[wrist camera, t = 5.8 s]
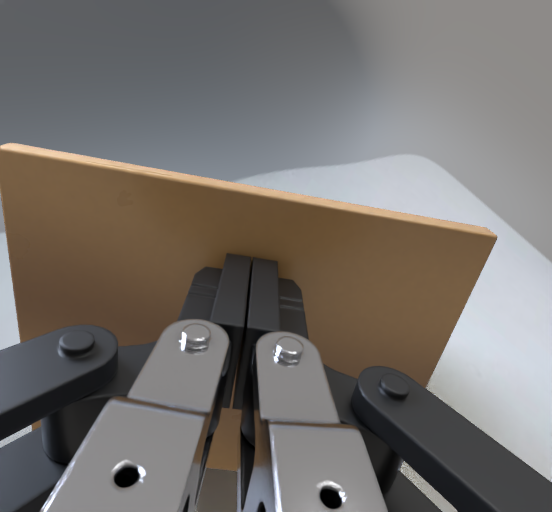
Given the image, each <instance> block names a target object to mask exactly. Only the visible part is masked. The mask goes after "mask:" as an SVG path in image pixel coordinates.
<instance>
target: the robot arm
mask: <svg viewBox="0 0 552 512" xmlns="http://www.w3.org/2000/svg"><path fill="white" fill-rule="evenodd" d="M250 264H251V257H249V256H243V255H236V254H230V253H227V254H226V258H225V262H224V266H223V269H220V268H213V267H207V266H206V267H204V268H203V269H201V270H200V271H198V272H197V273H195V275H194V278H193V281H192V283H191V286H190V288H189V291H188V294H187V296H186V299H185V301H184V304H183V307H182V309H181V312H180V314H179V317H178V320H177V322H174V323H172V324H171V325H169V326H168V327H166V328H165V329H164V331H163V332H162V334H161V336H160V338H159V339H158V340H157V341H154V342H151V343H147V344H141V345H130V346H118V340H117V338H116V336H115V335H114V334H113V333H112V332H111V331H109V330H108V329H105V328H103V327H100V326H95V325H73V326H68V327H64V328H61V329H57V330H55V331H52V332H49V333H47V334H44V335H41V336H38V337H36V338H33V339H30V340H27V341H25V342H22V343H19V344H17V345H14V346H11V347H8V348H6V349H3V350H0V441H1V440H3V439H5V438H6V437H8V436H10V435H12V434H14V433H16V432H18V431H20V430H22V429H24V428H26V427H27V426H29V425H31V424H33V423H35V422H37V421H39V420H41V427H39V428H37V429H35V430H33V431H31V432H30V433H28V434H26V435H24V436H22V437H20V438H18V439H16V440H15V441H13V442H11V443H9V444H7V445H5V446H3V447H2V448H0V512H196V508H197V504H198V500H199V496H200V492H201V488H202V483H203V479H204V475H205V471H206V467H207V463H208V459H209V455H210V451H211V447H212V443H213V439H214V433H215V430H216V428H217V426H218V424H219V421H220V415H221V409H222V408H228V409H229V408H230V402H231V397H232V391H233V385H234V380H235V374H236V380H235V389H234V398H233V407H232V409H238V410H242V414H241V423H240V428H239V433H238V439H237V512H442V511H441V510H440V509H439V508H438V507H437V506H436V505H435V504H434V503H433V502H432V501H431V500H430V499H429V498H427V497H426V496H425V495H424V494H423V493H422V492H421V491H420V490H419V489H418V488H417V487H416V486H415V485H414V484H413V483H412V482H411V481H410V480H409V479H408V478H407V477H406V476H404V475H403V474H402V473H401V472H400V471H399V470H400V468H401V465H402V463H403V461H405V462H406V463H407V464H408V465H409V466H411V467H412V468H413V469H414V470H415V471H416V472H417V473H418V474H419V475H420V476H421V477H422V478H423V479H425V480H426V481H427V482H428V483H429V484H430V485H431V486H432V487H433V488H434V489H435V490H436V491H437V492H439V493H440V494H441V495H442V496H443V497H444V498H445V499H446V500H447V501H448V502H449V503H450V504H452V505H453V506H454V508H455V509H456V510H457V511H458V512H552V483H551V482H550V481H549V480H547V479H546V478H545V477H543V476H542V475H541V474H539V473H538V472H537V471H535V470H534V469H533V468H531V467H530V466H529V465H527V464H526V463H525V462H523V461H522V460H521V459H519V458H518V457H517V456H515V455H514V454H513V453H511V452H510V451H509V450H507V449H506V448H505V447H503V446H502V445H501V444H499V443H498V442H497V441H495V440H494V439H493V438H491V437H490V436H488V435H487V434H486V433H484V432H483V431H482V430H480V429H479V428H478V427H476V426H475V425H474V424H472V423H471V422H470V421H468V420H467V419H466V418H464V417H463V416H462V415H460V414H459V413H458V412H456V411H455V410H454V409H452V408H451V407H450V406H448V405H447V404H446V403H444V402H443V401H442V400H440V399H439V398H438V397H436V396H435V395H434V394H432V393H431V392H430V391H428V390H427V389H426V388H424V387H423V386H422V385H420V384H419V383H417V382H416V381H415V380H413V379H412V378H411V377H409V376H408V375H406V374H404V373H402V372H400V371H398V370H396V369H393V368H389V367H385V366H372V367H368V368H366V369H364V370H363V371H362V372H361V373H360V375H359V377H358V379H357V378H354V377H352V376H349V375H346V374H344V373H341V372H338V371H336V370H334V369H332V368H330V367H328V366H327V365H325V364H324V363H323V362H322V359H321V355H320V353H319V350H318V349H317V347H316V346H315V345H314V344H313V343H312V342H311V341H309V337H308V331H307V324H306V318H305V311H304V304H303V298H302V291H301V289H300V288H299V287H298V285H297V284H296V283H295V282H294V281H293V280H291V279H284V278H278V261H274V260H268V259H262V258H256V257H253V260H252V266H251V271H250ZM249 273H250V277H249ZM236 369H237V371H236Z"/></svg>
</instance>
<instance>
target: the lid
mask: <svg viewBox="0 0 552 512" xmlns="http://www.w3.org/2000/svg"><path fill="white" fill-rule="evenodd" d="M0 193H1V201H2V207H3V215H4V223H5V230H6V238H7V245H8V253H9V260H10V268H11V275H12V283H13V290H14V298H15V305H16V313H17V320H18V328H19V335H20V343H22V342H25V341H27V340H30V339H33V338H36V337H38V336H41V335H44V334H47V333H49V332H52V331H55V330H57V329H61V328H64V327H68V326H73V325H95V326H100V327H103V328H105V329H108V330H109V331H111V332H112V333H113V334H114V335H115V336H116V338H117V340H118V346H130V345H141V344H147V343H151V342H154V341H157V340H158V339H159V338H160V336H161V334H162V332H163V331H164V329H165V328H166V327H168V326H169V325H171V324H172V323H174V322H177V320H178V317H179V314H180V312H181V309H182V307H183V304H184V301H185V299H186V296H187V294H188V291H189V288H190V286H191V283H192V281H193V278H194V275H195V273H197V272H198V271H200V270H201V269H203V268H204V267H206V266H207V267H213V268H220V269H223V266H224V262H225V258H226V254H227V253H230V254H236V255H243V256H249V257H251V264H250V271H251V266H252V260H253V257H256V258H262V259H268V260H274V261H278V278H284V279H291V280H293V281H294V282H295V283H296V284H297V285H298V287H299V288H300V289H301V291H302V298H303V304H304V311H305V318H306V324H307V331H308V337H309V341H311V342H312V343H313V344H314V345H315V346H316V347H317V349H318V350H319V353H320V355H321V359H322V362H323V363H324V364H325V365H327V366H328V367H330V368H332V369H334V370H336V371H338V372H341V373H344V374H346V375H349V376H352V377H354V378H357V379H358V377H359V375H360V373H361V372H362V371H363V370H364V369H366V368H368V367H372V366H385V367H389V368H393V369H396V370H398V371H400V372H402V373H404V374H406V375H408V376H409V377H411V378H412V379H413V380H415V381H416V382H417V383H419V384H420V385H422V386H423V387H424V388H426V386H427V384H428V382H429V380H430V378H431V376H432V374H433V371H434V369H435V367H436V365H437V363H438V361H439V359H440V357H441V355H442V353H443V351H444V349H445V346H446V344H447V342H448V340H449V338H450V336H451V334H452V332H453V330H454V328H455V326H456V323H457V321H458V319H459V317H460V315H461V313H462V311H463V309H464V307H465V305H466V303H467V301H468V298H469V296H470V294H471V292H472V290H473V288H474V286H475V284H476V282H477V280H478V278H479V276H480V273H481V271H482V269H483V267H484V265H485V263H486V261H487V259H488V257H489V255H490V253H491V250H492V248H493V246H494V244H495V242H496V240H497V235H495V234H494V233H493V232H491V231H490V230H489V229H487V228H485V227H480V226H474V225H468V224H463V223H457V222H452V221H446V220H440V219H435V218H429V217H424V216H418V215H412V214H407V213H401V212H396V211H390V210H385V209H379V208H373V207H368V206H362V205H357V204H351V203H345V202H340V201H334V200H329V199H323V198H317V197H312V196H306V195H301V194H295V193H289V192H284V191H278V190H273V189H267V188H261V187H256V186H250V185H245V184H239V183H233V182H228V181H222V180H216V179H211V178H206V177H200V176H194V175H189V174H183V173H178V172H172V171H166V170H161V169H155V168H150V167H144V166H138V165H133V164H127V163H122V162H116V161H110V160H105V159H99V158H93V157H88V156H82V155H77V154H71V153H65V152H60V151H54V150H49V149H43V148H38V147H32V146H26V145H21V144H15V143H8V144H5V145H2V146H0ZM249 277H250V273H249ZM236 371H237V369H236ZM235 380H236V374H235ZM235 380H234V385H233V391H232V397H231V402H230V408H229V409H228V408H222V409H221V415H220V421H219V424H218V426H217V428H216V430H215V433H214V439H213V443H212V447H211V451H210V455H209V459H208V463H207V467H206V468H212V469H221V470H230V471H237V439H238V433H239V428H240V423H241V414H242V410H238V409H232V407H233V398H234V389H235ZM31 425H32V431H33V430H35V429H37V428H39V427H41V420H39V421H37V422H35V423H33V424H31Z"/></svg>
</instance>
